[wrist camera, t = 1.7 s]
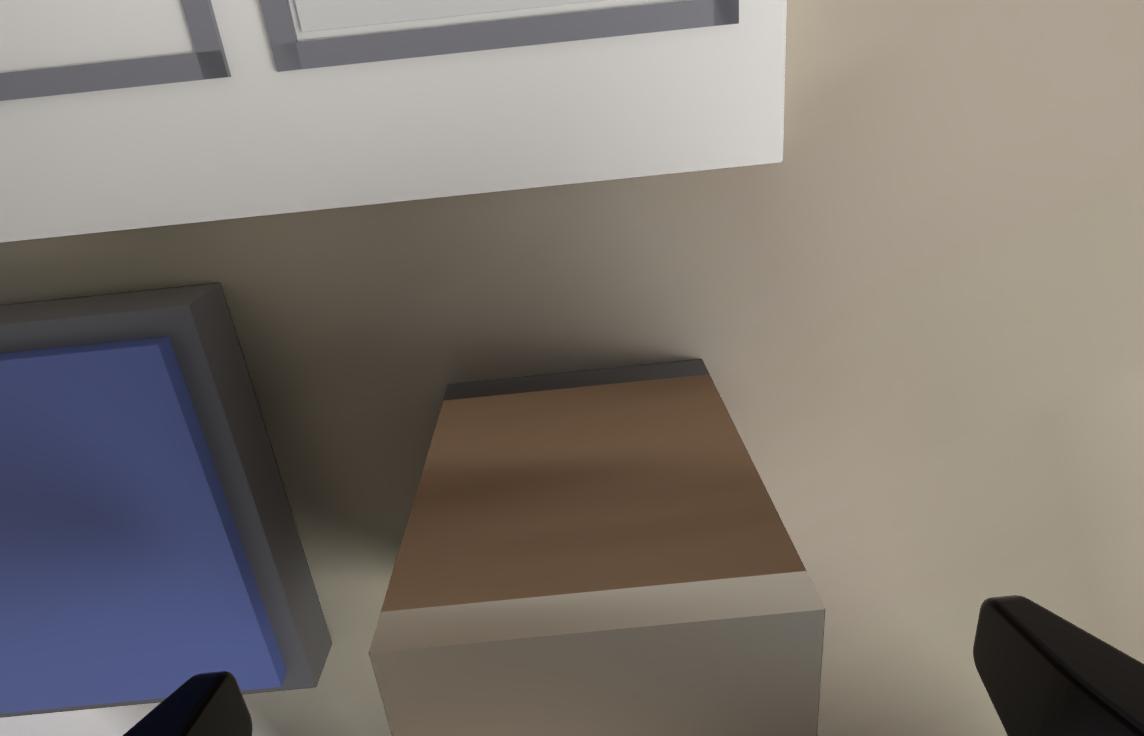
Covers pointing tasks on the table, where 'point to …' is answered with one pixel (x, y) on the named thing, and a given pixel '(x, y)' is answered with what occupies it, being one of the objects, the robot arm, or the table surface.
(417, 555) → the beige block
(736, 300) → the table surface
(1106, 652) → the robot arm
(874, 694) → the table surface
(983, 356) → the table surface
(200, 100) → the sheet
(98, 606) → the ink pad
